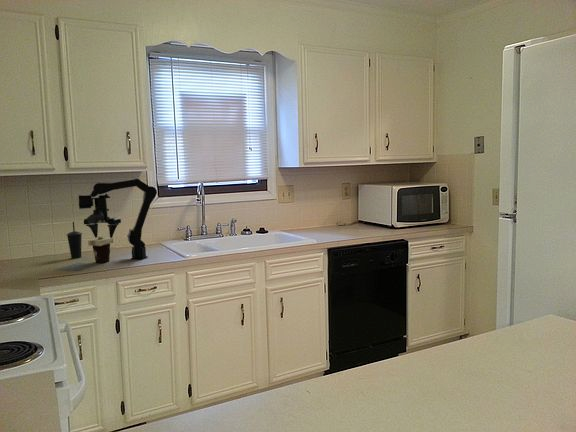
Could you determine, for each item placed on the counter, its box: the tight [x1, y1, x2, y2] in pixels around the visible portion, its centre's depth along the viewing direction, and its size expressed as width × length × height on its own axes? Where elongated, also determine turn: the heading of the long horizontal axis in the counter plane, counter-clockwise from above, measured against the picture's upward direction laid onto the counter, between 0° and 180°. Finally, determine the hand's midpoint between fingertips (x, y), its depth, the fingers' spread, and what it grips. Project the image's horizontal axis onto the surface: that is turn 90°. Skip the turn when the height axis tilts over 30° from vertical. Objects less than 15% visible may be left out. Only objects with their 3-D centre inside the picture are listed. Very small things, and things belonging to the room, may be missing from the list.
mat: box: [54, 262, 100, 272], centre depth 234 cm, size 14×16×1 cm
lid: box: [87, 236, 114, 247], centre depth 241 cm, size 7×10×4 cm
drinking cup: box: [66, 221, 83, 260], centre depth 256 cm, size 8×8×20 cm
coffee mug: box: [92, 243, 111, 264], centre depth 242 cm, size 12×9×10 cm
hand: (103, 237), depth 243 cm, fingers open, 9 cm apart
